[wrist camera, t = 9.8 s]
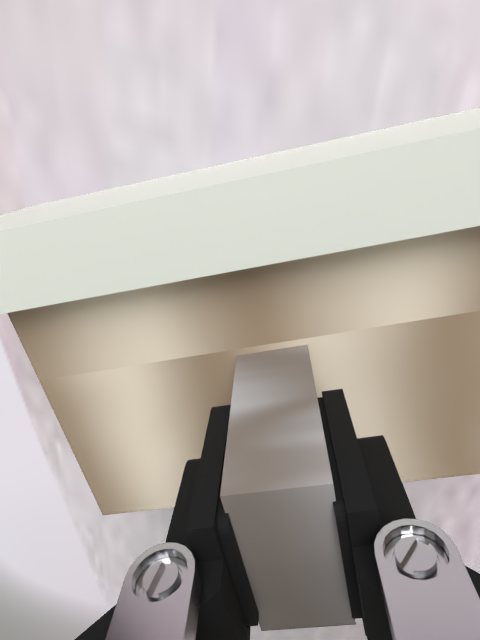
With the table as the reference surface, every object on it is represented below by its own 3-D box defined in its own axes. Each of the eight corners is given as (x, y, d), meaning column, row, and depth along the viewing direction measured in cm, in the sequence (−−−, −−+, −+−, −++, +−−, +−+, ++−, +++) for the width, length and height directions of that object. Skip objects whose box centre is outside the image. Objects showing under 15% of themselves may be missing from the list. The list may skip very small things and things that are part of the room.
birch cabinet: (414, 166, 19) (777, 288, 6) (421, 326, 22) (660, 648, 9) (117, 227, 21) (-151, 429, 7) (163, 366, 24) (34, 683, 11)
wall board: (511, 100, 19) (850, 48, 8) (510, 148, 20) (819, 163, 9) (31, 205, 22) (-207, 274, 11) (46, 244, 23) (-164, 344, 12)
